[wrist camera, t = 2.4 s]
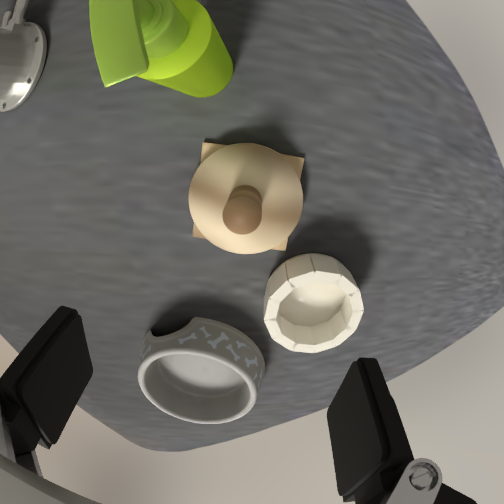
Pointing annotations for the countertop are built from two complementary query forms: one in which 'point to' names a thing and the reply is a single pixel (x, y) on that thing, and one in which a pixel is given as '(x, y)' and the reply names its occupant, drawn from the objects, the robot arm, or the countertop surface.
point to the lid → (245, 198)
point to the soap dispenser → (159, 44)
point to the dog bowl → (202, 372)
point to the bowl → (311, 303)
